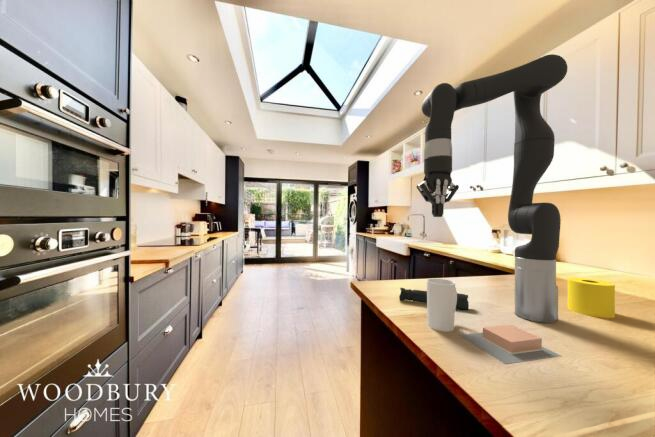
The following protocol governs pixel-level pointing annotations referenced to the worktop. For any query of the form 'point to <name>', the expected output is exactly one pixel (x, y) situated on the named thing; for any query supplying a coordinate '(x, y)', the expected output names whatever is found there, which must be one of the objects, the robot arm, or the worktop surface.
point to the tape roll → (591, 297)
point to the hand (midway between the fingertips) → (437, 216)
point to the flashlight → (422, 297)
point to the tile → (512, 339)
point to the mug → (441, 304)
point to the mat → (503, 355)
